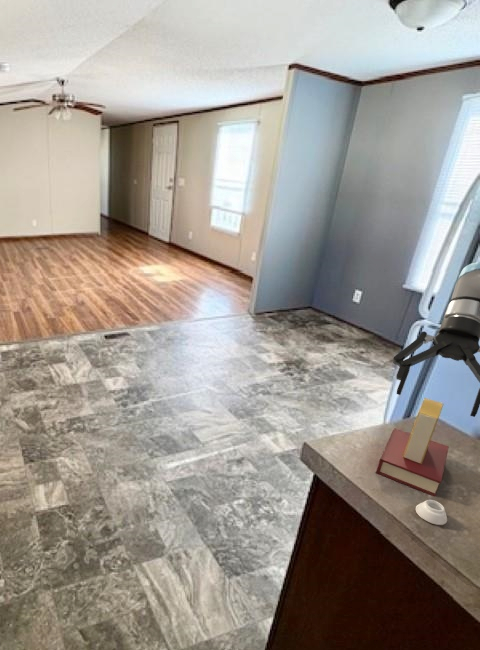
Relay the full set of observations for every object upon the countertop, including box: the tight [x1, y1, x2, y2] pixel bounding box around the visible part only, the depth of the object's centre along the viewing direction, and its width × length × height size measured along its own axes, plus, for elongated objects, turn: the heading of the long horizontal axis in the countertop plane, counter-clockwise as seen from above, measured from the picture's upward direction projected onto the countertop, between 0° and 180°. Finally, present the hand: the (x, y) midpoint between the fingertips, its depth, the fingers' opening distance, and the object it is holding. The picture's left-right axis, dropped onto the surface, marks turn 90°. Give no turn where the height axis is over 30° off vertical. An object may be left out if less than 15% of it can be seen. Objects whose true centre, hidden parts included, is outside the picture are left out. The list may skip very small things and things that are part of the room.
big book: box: [375, 427, 450, 497], centre depth 98 cm, size 16×11×4 cm
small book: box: [403, 397, 444, 464], centre depth 95 cm, size 4×8×12 cm, turn 137°
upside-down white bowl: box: [415, 499, 448, 526], centre depth 84 cm, size 5×3×5 cm
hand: (434, 403), depth 95 cm, fingers open, 13 cm apart
